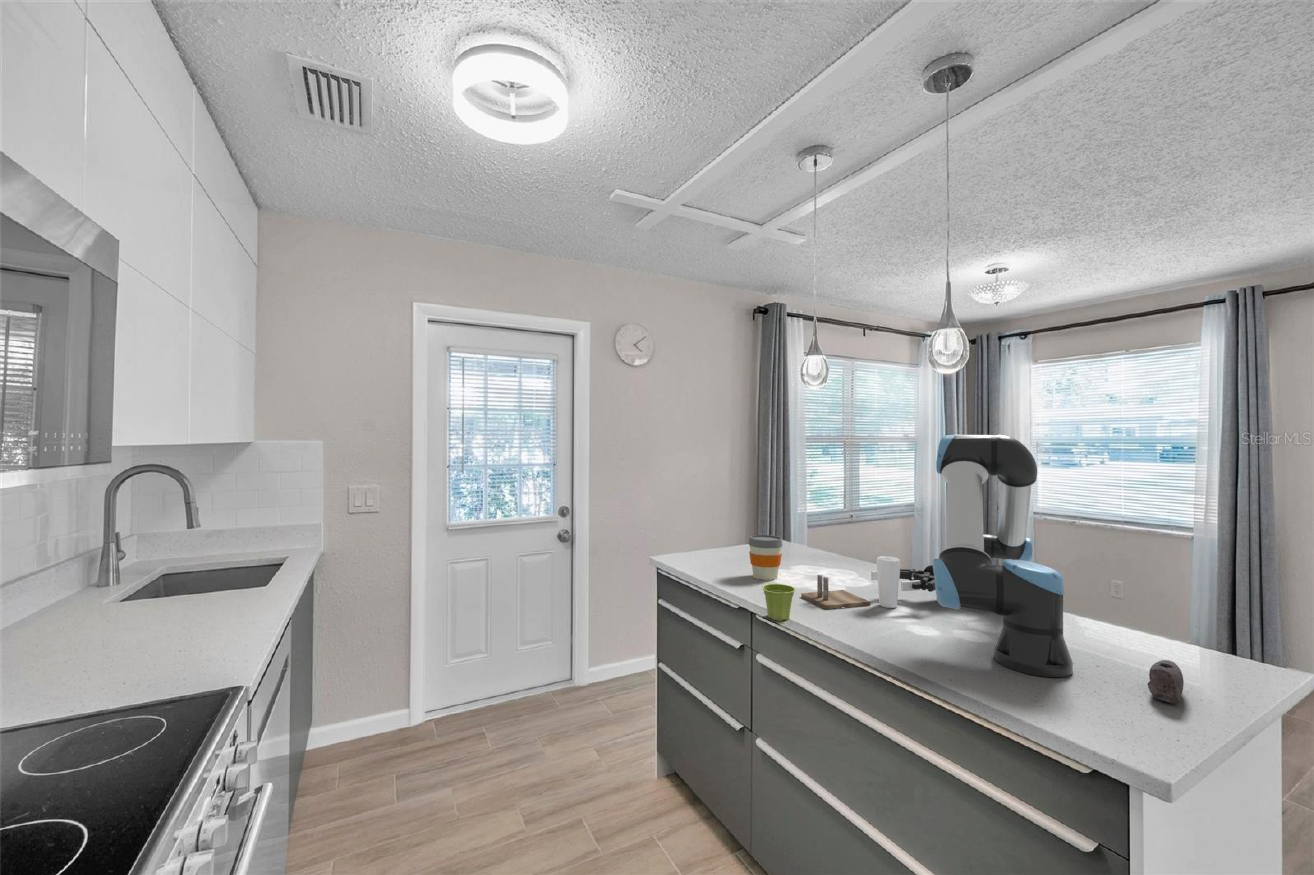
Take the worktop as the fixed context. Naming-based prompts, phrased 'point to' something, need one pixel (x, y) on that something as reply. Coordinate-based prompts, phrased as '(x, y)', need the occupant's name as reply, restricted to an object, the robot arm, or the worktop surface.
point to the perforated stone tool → (1166, 681)
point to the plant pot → (778, 600)
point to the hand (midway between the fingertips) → (886, 580)
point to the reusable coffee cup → (765, 556)
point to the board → (833, 596)
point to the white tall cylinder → (888, 580)
